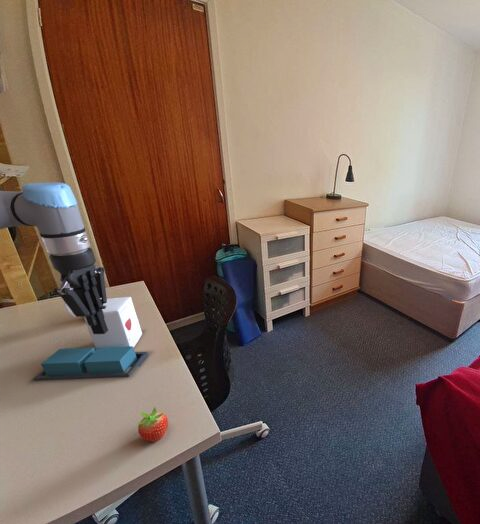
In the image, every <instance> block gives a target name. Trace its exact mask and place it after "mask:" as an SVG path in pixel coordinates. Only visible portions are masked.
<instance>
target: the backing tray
mask: <svg viewBox="0 0 480 524" xmlns="http://www.w3.org/2000/svg"><path fill="white" fill-rule="evenodd" d="M135 354H136V357H137V361H136V362H135V363H134V364H133V365H132V367H130V369H129V370H128V371H127V372H124V373H106V374H89V373H88V374H87V373H84V374H83V375H59V376H47V375H46V373H45V371H44V369H43V370H42V371H40V372H39V373H38V374H37V375H36V376H34V377H33V378H32V380H33V382H38V381H39V382H40V381H62V380H63V381H64V380H65V381H66V380H87V379H108V378H109V379H110V378H129V377H131V376H132V374H133V373H134V372H135V371H136V370H137V368H138V367H141V366H142V365H143V364H144V362H145V361H146V360H147V359H148V358H149V353H148V351H135Z"/></svg>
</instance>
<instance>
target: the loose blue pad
mask: <svg viewBox="0 0 480 524" xmlns="http://www.w3.org/2000/svg"><path fill="white" fill-rule="evenodd" d="M134 348H135V347H134ZM134 348H133V346H125V347H100V348H98V349H97V350H96V349H95V352H94V353H93V354H92V355H91V356H90V357H89V358H88V359H87V360H86V361H85V362H84V364H85V367H86V369H87V371H86V372H87V373H88V374H106V373H126V371H127V370H128V369H129V368H132V365H133V364H134V363H135V362H136V361H137V357H136V354H135V352H136V351H135V349H134Z"/></svg>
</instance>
